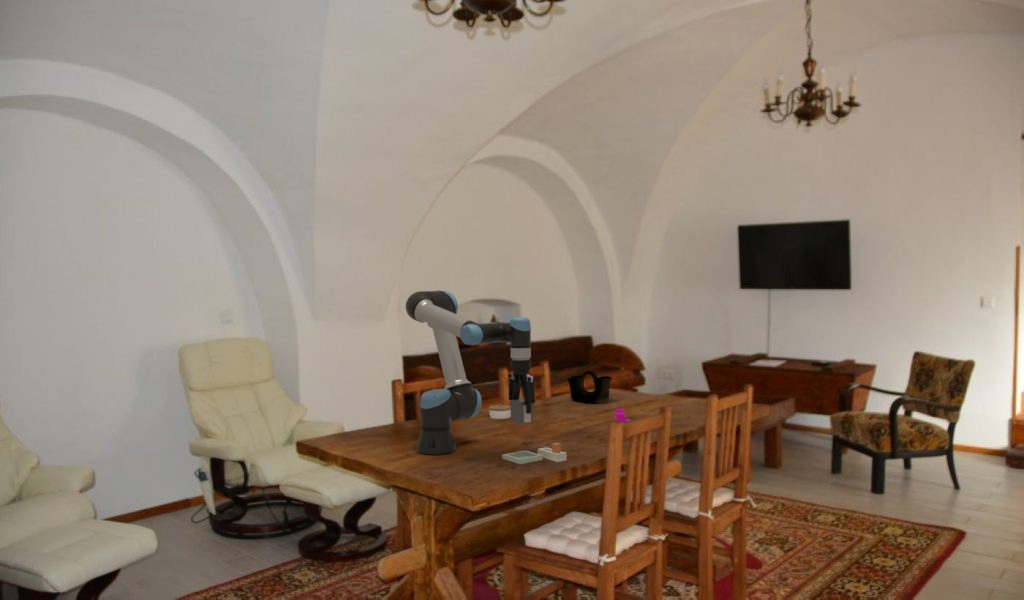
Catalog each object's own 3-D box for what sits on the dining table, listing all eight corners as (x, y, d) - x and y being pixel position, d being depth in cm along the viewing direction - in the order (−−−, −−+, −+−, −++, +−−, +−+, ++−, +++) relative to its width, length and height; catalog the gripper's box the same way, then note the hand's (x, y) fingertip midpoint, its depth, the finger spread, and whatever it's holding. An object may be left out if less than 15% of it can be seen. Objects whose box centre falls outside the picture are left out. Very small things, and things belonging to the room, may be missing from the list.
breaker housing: (557, 462, 286) (557, 454, 286) (537, 456, 296) (537, 448, 296) (566, 460, 289) (566, 452, 289) (546, 455, 299) (546, 447, 299)
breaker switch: (556, 452, 289) (555, 444, 288) (552, 451, 290) (551, 443, 290) (561, 451, 290) (561, 443, 290) (557, 450, 292) (556, 442, 292)
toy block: (630, 431, 345) (630, 414, 345) (616, 431, 345) (616, 414, 345) (629, 425, 360) (629, 408, 360) (615, 425, 360) (615, 408, 360)
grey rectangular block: (520, 423, 286) (519, 402, 286) (510, 421, 291) (510, 400, 291) (533, 421, 290) (532, 400, 290) (523, 419, 295) (523, 398, 295)
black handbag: (616, 409, 403) (615, 371, 403) (607, 412, 394) (607, 373, 393) (573, 406, 416) (572, 368, 416) (563, 409, 407) (563, 371, 406)
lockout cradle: (519, 464, 283) (519, 459, 283) (502, 459, 292) (502, 454, 292) (542, 460, 290) (542, 455, 290) (525, 455, 298) (525, 450, 298)
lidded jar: (485, 424, 366) (485, 404, 365) (493, 420, 376) (493, 401, 376) (507, 425, 362) (507, 405, 362) (514, 421, 372) (514, 401, 372)
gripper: (544, 360, 285) (545, 423, 285) (514, 356, 300) (515, 416, 300) (528, 361, 280) (529, 425, 281) (498, 358, 296) (499, 418, 296)
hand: (521, 420), depth 291 cm, fingers closed on grey rectangular block, 6 cm apart
